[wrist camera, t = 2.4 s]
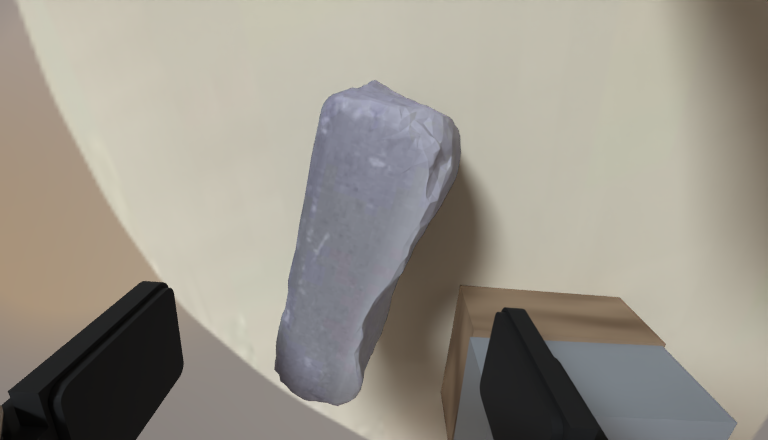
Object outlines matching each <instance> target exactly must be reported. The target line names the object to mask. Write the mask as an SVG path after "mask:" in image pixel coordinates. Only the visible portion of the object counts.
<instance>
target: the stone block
mask: <svg viewBox="0 0 768 440" xmlns="http://www.w3.org/2000/svg"><path fill="white" fill-rule="evenodd" d="M460 154H461V146H460V134H459V130H458V128H457V127H456V126H455V124H454V122H453V120H452V119H451V118H450V117H448V116H446V115H444V114H442V113H440V112H438V111H436V110H434V109H432V108H431V107H429V106H426V105H422V104H419V103H417V102H415V101H413V100H411V99H409V98H405V97H404V96H402V95H400V94H398V93H396V92H394V91H392V90H391V89H389V88H388V87H387V86H385V85H383V84H381V83H380V82H378V81H376V80H374V81H371V82H369V83H368V84H367V85H363V86H362V87H360V88H350V89H348V90H345V91H342V92H339V93H336V94H333V95H331V96H330V97H328V99H327V100H326V101H325V103H324V104H323V106H322V109H321V114H320V118H319V124H318V128H317V133H316V138H315V143H314V147H313V152H312V157H311V162H310V169H309V175H308V181H307V187H306V193H305V199H304V204H303V209H302V214H301V219H300V224H299V231H298V237H297V244H296V250H295V254H294V258H293V262H292V266H291V270H290V275H289V279H288V296H287V302H286V307H285V310H284V312H283V314H282V317H281V322H280V326H279V330H278V336H277V341H276V360H275V369H274V370H275V371H276V372H277V373H278V374H279V376H280V381H281V382H283V383H284V384H285V385H286V386H287V387H288V388H289V389H290V391H291V392H293V393H294V394H296V395H297V396H299V397H301V398H302V399H304V400H308V401H318V402H325V403H329V404H332V405H336V406H339V405H341V404H344V403H347V402H349V401H351V400H352V399H354V398H355V397H356V396H357V394H358V393H359V391H360V390H361V386H362V383H363V378H364V371H365V368H366V366H367V364H368V361H369V359H370V355H371V354H372V353H373V350H374V348H375V345H376V343H377V341H378V339H379V338H380V336H381V334H382V330H383V327H384V324H385V321H386V319H387V316H388V312H389V308H390V304H391V298H392V294H393V292H394V289H395V287H396V284H397V282H398V279H399V276H400V275H401V274H402V273H403V270H404V268H405V266H406V264H407V263H408V261H409V259H410V257H411V254H412V251H413V249H414V247H415V245H416V244H417V242H418V240H419V239H420V238H421V236H422V235H423V234H424V232H425V230H426V228H427V226H428V224H429V222H430V221H431V219H432V218H433V217H434V216H435V214H436V213H437V211H438V210H439V208H440V207H441V205H442V203H443V201H444V199H445V197H446V195H447V193H448V192H449V190H450V188H451V186H452V185H453V183H454V181H455V178H456V176H457V173H458V168H459V162H460Z"/></svg>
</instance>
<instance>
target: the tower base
mask: <svg viewBox="0 0 768 440" xmlns="http://www.w3.org/2000/svg"><path fill="white" fill-rule="evenodd" d="M504 307H508V308H522V309H525V310H526V312H527V313H528V315H529V317H530V318H531V320H532V322H533V323H534V325H535V326H536V328H537V330H538V331H539V333H540V335H541V336H542V338H543V340H546V341H568V342H589V343H610V344H632V345H653V346H663V347H665V345H666V344H665V343H664V342H663V341H662V340H661V339H660V338H659V337H658V336H657V335H656V334H655V333H654V332H653V331H652V330H651V329H650V328H649V326H648V325H647V324H646V323H645V322H644V321H643V320H642V319H641V318H640V317H639V316H638V315H637V314H636V313H635V312H634V311H633V310H632V309H631V308H630V307H629V306H628V305H627V304H626V303H625V302H624V301H623V300H622V299H621V298H620V297H607V296H594V295H581V294H568V293H554V292H541V291H528V290H515V289H501V288H488V287H475V286H462V285H460V289H459V295H458V300H457V306H456V311H455V317H454V322H453V328H452V334H451V339H450V345H449V350H448V356H447V362H446V367H445V373H444V378H443V384H442V389H441V397H442V403H443V410H444V417H445V423H446V430H447V437H448V440H453V439H454V433H455V427H456V421H457V414H458V408H459V402H460V396H461V390H462V383H463V377H464V371H465V365H466V359H467V352H468V346H469V340H470V337H482V338H490V335H491V331H492V326H493V322H494V318H495V314H496V312H501V311H502V309H503V308H504Z"/></svg>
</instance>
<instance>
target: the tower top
mask: <svg viewBox="0 0 768 440" xmlns="http://www.w3.org/2000/svg"><path fill="white" fill-rule="evenodd" d="M489 340H490V338H482V337H470V340H469V346H468V352H467V359H466V365H465V371H464V377H463V383H462V390H461V396H460V402H459V408H458V414H457V421H456V427H455V433H454V439H453V440H494V439H493V436H492V433H491V429H490V426H489V423H488V419H487V416H486V413H485V409H484V406H483V403H482V399H481V396H480V380H481V376H482V371H483V367H484V362H485V358H486V353H487V349H488V344H489ZM544 341H545V343H546V344H547V346H548V348H549V349H550V351H551V353H552V354H553V356H554V357H555V358H557V359H558V360H559V362H560V363H561V364H562V366H563V367H564V369H565V371H566V372H567V374H568V376H569V377H570V379H571V380H572V382H573V384H574V385H575V387H576V388H577V390H578V392H579V393H580V395H581V396H582V398H583V400H584V401H585V403H586V404H587V406H588V408H589V409H590V411H591V413H592V414H593V416H594V417H595V419H596V421H597V422H598V424H599V425H600V427H601V429H602V430H603V432H604V433H605V435H606V437H607V438H608V440H728V439H729V437H730V435H731V433H732V432H733V430H734V428H735V426H736V424H737V422H736V421H735V420H734V419H733V418H732V417H731V416H730V415H729V414H728V413H727V412H726V411H725V410H724V409H723V408H722V407H721V406H720V405H719V404H718V402H717V401H716V400H715V399H714V398H713V397H712V396H711V395H710V394H709V393H708V392H707V391H706V390H705V389H704V388H703V387H702V386H701V385H700V384H699V383H698V382H697V381H696V380H695V379H694V378H693V377H692V376H691V375H690V374H689V373H688V372H687V371H686V370H685V369H684V368H683V367H682V366H681V365H680V364H679V363H678V361H677V360H676V359H675V358H674V357H673V356H672V355H671V354H670V353H669V352H668V351H667V350H666V349H665V348H664V347H663V346H653V345H632V344H610V343H589V342H568V341H546V340H544Z"/></svg>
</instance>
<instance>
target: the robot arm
mask: <svg viewBox="0 0 768 440" xmlns="http://www.w3.org/2000/svg"><path fill="white" fill-rule="evenodd" d="M182 370H183V355H182V348H181V340H180V333H179V326H178V319H177V312H176V304H175V297H174V292H173V290H172V289H171V288H168V285H167V284H166V283H164V282H150V281H143V282H141V283H139V284H138V285H137V286H135V287H134V288H133V289H132V290H131V291H129V292H128V293H127V294H126V295H125V296H123V297H122V298H121V299H120V300H119V301H117V302H116V303H115V304H114V305H113V306H111V307H110V308H109V309H107V310H106V311H105V312H104V313H103V314H101V315H100V316H99V317H98V318H97V319H95V320H94V321H93V322H92V323H90V324H89V325H88V326H87V327H86V328H85V329H83V330H82V331H81V332H80V333H78V334H77V335H76V336H75V337H73V338H72V339H71V340H70V341H69V342H67V343H66V344H65V345H64V346H62V347H61V348H60V349H59V350H58V351H56V352H55V353H54V354H53V355H52V356H50V357H49V358H48V359H47V360H45V361H44V362H43V363H42V364H41V365H39V366H38V367H37V368H36V369H35V370H33V371H32V372H31V373H30V374H28V375H27V376H26V377H25V378H24V379H22V380H21V381H20V382H19V383H17V384H16V385H15V386H14V387H13V388H11V389H10V390H9V391H8V393H9V395H10V399H8V400H7V401H6V402H5V403H4V404H2V405H0V440H136V439H137V437H138V436H139V434H140V433H141V431H142V430H143V429H144V427H145V426H146V424H147V423H148V421H149V420H150V419H151V417H152V416H153V414H154V413H155V411H156V410H157V409H158V407H159V406H160V404H161V403H162V401H163V400H164V398H165V397H166V396H167V394H168V393H169V391H170V389H171V388H172V387H173V386H174V384H175V383H176V381H177V380H178V378H179V377H180V375H181V373H182ZM480 396H481V399H482V403H483V406H484V409H485V413H486V416H487V419H488V423H489V426H490V429H491V433H492V436H493V439H494V440H608V438H607V437H606V435H605V433H604V432H603V430H602V429H601V427H600V425H599V424H598V422H597V421H596V419H595V417H594V416H593V414H592V413H591V411H590V409H589V408H588V406H587V404H586V403H585V401H584V400H583V398H582V396H581V395H580V393H579V392H578V390H577V388H576V387H575V385H574V384H573V382H572V380H571V379H570V377H569V376H568V374H567V372H566V371H565V369H564V367H563V366H562V364H561V363H560V362H559V360H558V359H557V358H555V357H554V356H553V354H552V353H551V351H550V349H549V348H548V346H547V344H546V343H545V341H544V340H543V338H542V336H541V335H540V333H539V331H538V330H537V328H536V326H535V325H534V323H533V322H532V320H531V318H530V317H529V315H528V313H527V312H526V310H525V309H522V308H508V307H504V308H503V309H502V311H501V312H496V314H495V318H494V322H493V326H492V331H491V335H490V340H489V344H488V349H487V353H486V358H485V362H484V367H483V371H482V376H481V380H480Z"/></svg>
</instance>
